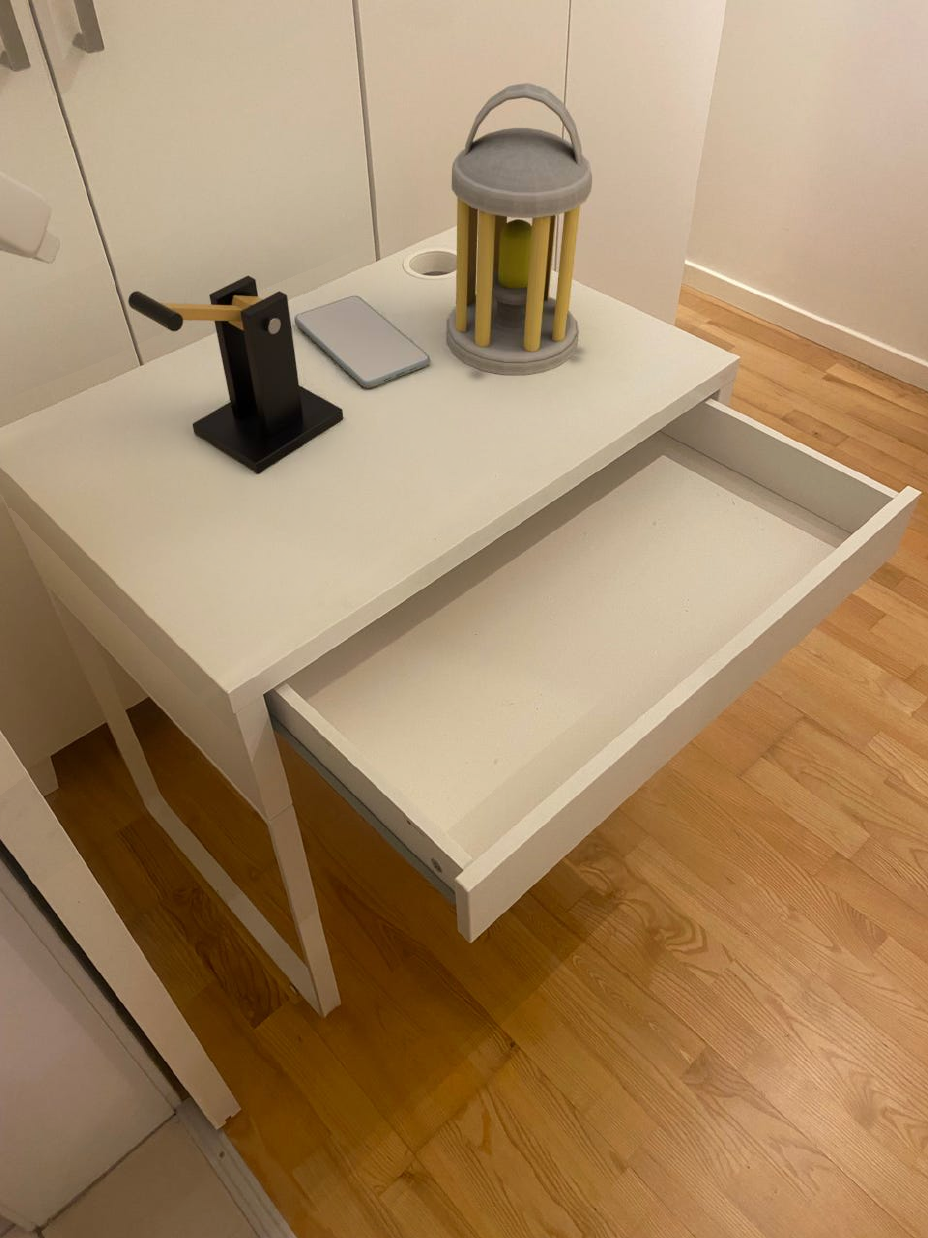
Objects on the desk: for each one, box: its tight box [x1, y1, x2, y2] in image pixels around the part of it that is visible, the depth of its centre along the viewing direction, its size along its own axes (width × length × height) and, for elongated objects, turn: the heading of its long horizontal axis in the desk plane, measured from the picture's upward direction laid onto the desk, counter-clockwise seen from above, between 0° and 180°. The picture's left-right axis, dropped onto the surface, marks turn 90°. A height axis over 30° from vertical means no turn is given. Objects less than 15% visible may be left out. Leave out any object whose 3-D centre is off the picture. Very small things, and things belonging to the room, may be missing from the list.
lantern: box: [445, 82, 593, 376], centre depth 94 cm, size 14×14×25 cm
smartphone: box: [294, 295, 431, 389], centre depth 101 cm, size 8×1×15 cm
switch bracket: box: [191, 275, 344, 474], centre depth 87 cm, size 11×9×14 cm
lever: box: [127, 290, 264, 332], centre depth 79 cm, size 12×5×2 cm, turn 139°
